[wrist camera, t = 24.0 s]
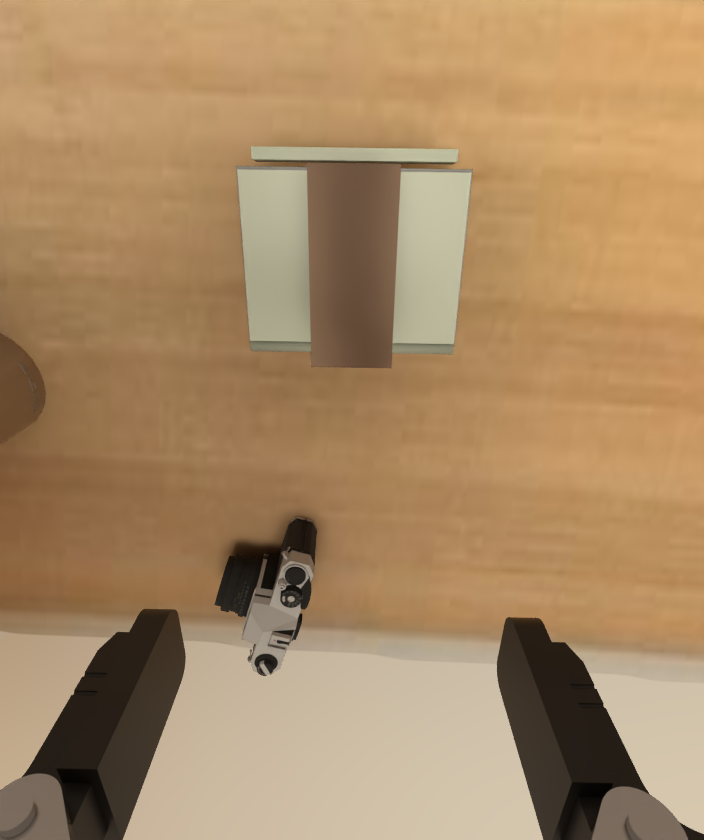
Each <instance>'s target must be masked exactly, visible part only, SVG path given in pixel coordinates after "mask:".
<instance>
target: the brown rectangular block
mask: <svg viewBox="0 0 704 840" xmlns="http://www.w3.org/2000/svg"><path fill="white" fill-rule="evenodd" d="M400 180H401V164H348V163H307V196H308V241H309V286H310V331H311V367H352V368H391V364H392V343H393V323H394V302H395V282H396V262H397V241H398V221H399V200H400Z"/></svg>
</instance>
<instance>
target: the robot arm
mask: <svg viewBox="0 0 704 840" xmlns="http://www.w3.org/2000/svg"><path fill="white" fill-rule="evenodd" d="M44 404H45V387H44V382H43V379H42V376H41V374H40V371H39V369H38V368H37V366H36V365H35V363H34V361H33V360H32V359H31V358H30V356H29V355H28V354H27V353H26V352H25V351H24V350H23V349H22V348H21V347H20V346H19V345H17V344H16V343H15V342H14V341H12V340H11V339H9V338H7V337H6V336H4V335H2V334H0V444H2V443H3V442H5V441H6V440H8V439H9V438H11V437H12V436H14V435H15V434H17V433H18V432H20V431H21V430H23V429H24V428H26V427H27V426H29V425H30V424H31V423H33V422H34V421H35V420H36V419H37V418H38V416H39V415H40V413H41V412H42V409H43V406H44ZM184 668H185V649H184V643H183V638H182V633H181V627H180V622H179V617H178V613H177V611H176V610H172V609H144V610H142V611H141V612H140V613H139V615H138V617H137V619H136V621H135V622H134V624H133V626H132V628H131V630H130V632H117V633H116V634H115V635H114V636H113V637H112V638H110V640H108V641H107V642H106V643H105V644H104V645H103V646H102V647H101V648H100V649H99V650H98V651H97V653H96V654H95V656H94V658H93V659H92V661H91V663H90V665H89V666H88V668H87V670H86V671H85V676H84V677H82V678H81V680H80V682H79V684H78V685H77V687H76V688H75V690H74V695H71V697H70V699H69V700H68V702H67V704H66V706H65V707H64V709H63V711H62V712H61V714H60V716H59V718H58V719H57V721H56V723H55V724H54V726H53V728H52V730H51V731H50V733H49V735H48V737H47V738H46V740H45V742H44V743H43V745H42V747H41V749H40V750H39V752H38V754H37V755H36V757H35V759H34V761H33V762H32V764H31V765H30V767H29V769H28V770H27V771H26V773H25V774H24V775H23V776H22V778H20V779H17V780H15V781H13V782H12V783H10V784H9V785H7V786H5V787H4V788H3V789H1V790H0V840H123V837H124V834H125V832H126V829H127V826H128V823H129V821H130V818H131V815H132V812H133V810H134V807H135V805H136V802H137V799H138V797H139V794H140V791H141V789H142V786H143V783H144V780H145V778H146V775H147V772H148V769H149V767H150V764H151V762H152V759H153V756H154V754H155V751H156V748H157V745H158V743H159V740H160V737H161V735H162V732H163V729H164V726H165V724H166V721H167V719H168V716H169V713H170V711H171V708H172V705H173V702H174V699H175V697H176V694H177V692H178V689H179V686H180V684H181V681H182V677H183V673H184ZM497 676H498V683H499V688H500V692H501V695H502V698H503V702H504V705H505V709H506V712H507V716H508V719H509V723H510V726H511V729H512V733H513V736H514V740H515V743H516V747H517V750H518V754H519V757H520V760H521V764H522V767H523V770H524V774H525V777H526V781H527V784H528V788H529V791H530V795H531V798H532V802H533V805H534V809H535V812H536V816H537V819H538V822H539V826H540V829H541V833H542V836H543V840H704V834H702V833H699V832H697V831H694V830H692V829H690V828H688V827H686V826H685V825H683V824H681V823H680V822H679V821H678V820H677V819H676V818H675V816H674V815H673V814H672V813H671V812H670V811H669V810H668V809H667V808H666V807H665V806H664V805H663V804H662V803H661V802H660V801H658V800H657V799H655V798H654V797H652V796H651V795H650V794H649V792H648V791H647V790H646V788H645V786H644V785H643V783H642V781H641V780H640V777H639V775H638V773H637V771H636V769H635V767H634V765H633V763H632V761H631V759H630V757H629V755H628V753H627V751H626V749H625V747H624V745H623V743H622V740H621V738H620V736H619V734H618V732H617V730H616V728H615V726H614V724H613V722H612V720H611V718H610V716H609V714H608V712H607V710H606V708H604V707H603V702H602V700H601V698H600V696H599V693H598V691H597V689H595V688H594V683H593V681H592V679H591V677H590V675H589V673H588V671H587V669H586V667H585V665H584V663H583V661H582V660H581V659H580V658H579V657H578V656H577V655H576V654H575V653H574V652H573V651H572V650H571V649H570V648H569V646H568V645H567V644H566V643H564V642H551V640H550V637H549V635H548V633H547V630H546V628H545V626H544V624H543V622H542V621H541V620H540V619H539V618H512V617H508V618H507V619H506V621H505V624H504V630H503V635H502V640H501V645H500V650H499V655H498V660H497Z"/></svg>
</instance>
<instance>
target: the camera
mask: <svg viewBox="0 0 704 840" xmlns="http://www.w3.org/2000/svg"><path fill="white" fill-rule="evenodd" d="M316 535H317V528H316V526H315V524H314V522H313V520H309V519H305V518H302V517H298V516H297V517H295V518H294V519H293V520H292V521H290V522H289V526H288V529H287V532H286V535H285V538H284V541H283V544H282V547H281V550H280V553H279V555H274V554H264V556H263V559H259V557H256V556H255V557H254V558H247V557H246V558H245V555H241V554H237V556H236V557H233V556H229V559H228V562H227V565H226V568H225V571H224V574H223V578H222V581H221V584H220V587H219V591H218V594H217V598H216V602H215V605H217V606H221V611H226V612H229V610H230V611H233V612H235V613H237V614H238V616H240V617H242V616H245V617H246V619H245V622H244V625H243V628H242V630H243V635H242V639H243V640H246V641H248V642H251V643H254V647H253V653H252V655H251V652H252V650H250V656H249V657H248V662H250V663H251V665H252V668H253V671H255V672H258V673H259V674H260V675H263V676H266V675H271V674H273V673H274V672H276V671H277V670H279V669H280V667H281V664H282V661H283V658H284V656H285V653H286V650H287V648H288V646H290V643H291V641H293V639H294V640H296V637H297V635H298V632H299V629H300V626H301V623H302V614H300V611H301V609H306V608H307V606H308V603H309V600H310V596H311V581H312V578H313V575H314V565H315V547H316Z"/></svg>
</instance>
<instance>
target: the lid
mask: <svg viewBox="0 0 704 840" xmlns="http://www.w3.org/2000/svg"><path fill="white" fill-rule="evenodd" d="M251 156H252V160H254V161H257V162H310V163H382V164H454V163H456V162H457V159H458V149H406V148H333V147H261V146H251ZM237 174H238V187H239V200H240V213H241V227H242V240H243V253H244V267H245V280H246V293H247V307H248V320H249V333H250V341H251V344H250V347H251V351H271V352H311V331H310V286H309V241H308V196H307V170H246V169H237ZM470 183H471V173H459V172H401V180H400V200H399V221H398V241H397V262H396V282H395V302H394V323H393V343H392V354H453V344H454V339H455V329H456V319H457V309H458V300H459V290H460V280H461V270H462V261H463V251H464V241H465V231H466V222H467V212H468V202H469V192H470Z"/></svg>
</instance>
